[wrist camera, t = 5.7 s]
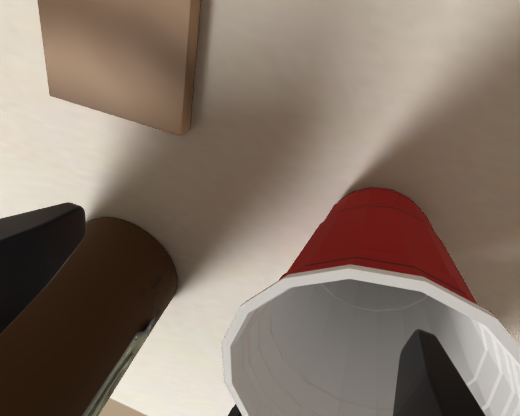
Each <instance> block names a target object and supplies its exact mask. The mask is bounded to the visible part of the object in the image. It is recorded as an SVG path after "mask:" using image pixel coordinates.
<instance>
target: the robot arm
mask: <svg viewBox="0 0 520 416" xmlns="http://www.w3.org/2000/svg"><path fill="white" fill-rule="evenodd" d="M85 235H86V221H85V211H84V209H83V208H82V207H81V206H78V205H76V204H73V203H63V204H59V205H55V206H51V207H47V208H43V209H38V210H34V211H30V212H26V213H22V214H18V215H14V216H10V217H6V218H1V219H0V335H1V334H2V332H3V331H4V330H5V329H6V328H7V327H8V326H9V325H10V324H11V323H12V322H13V321H14V320H15V319H16V318H17V317H18V316H19V315H20V314H21V312H22V311H23V310H24V309H25V308H26V307H27V306H28V305H29V304H30V303H31V302H32V301H33V300H34V299H35V298H36V297H37V296H38V295H39V293H40V292H41V291H42V290H43V289H44V288H45V287H46V286H47V285H48V284H49V283H50V281H51V280H52V279H53V278H54V277H55V275H56V274H57V273H58V271H59V270H60V269H61V268H62V266H63V265H64V264H65V262H66V261H67V260H68V259H69V257H70V256H71V255H72V253H73V252H74V251H75V249H76V248H77V247H78V246H79V244H80V243H81V242H82V240H83V239H84V237H85ZM228 416H242V414H241V412H240V411H239V409H238V407H237V405H236V404H235V406H234V407H233V408H232V409H231V411H230V413H229V415H228ZM393 416H486V415H485V414H484V412H483V410H482V409H481V407H480V406H479V404H478V402H477V401H476V399H475V398H474V396H473V394H472V393H471V391H470V390H469V388H468V386H467V385H466V383H465V381H464V380H463V378H462V377H461V375H460V373H459V372H458V370H457V369H456V367H455V365H454V364H453V362H452V361H451V359H450V357H449V356H448V354H447V353H446V351H445V349H444V348H443V346H442V345H441V343H440V341H439V340H438V338H437V337H436V336H435V335H434V334H432V333H430V332H427V331H424V330H422V329H416V330H415V331H414V332H413V334H412V335H411V337H410V338H409V340H408V341H407V343H406V344H405V346H404V347H403V349H402V351H401V354H400V358H399V367H398V375H397V383H396V392H395V400H394V408H393Z"/></svg>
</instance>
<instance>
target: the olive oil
mask: <svg viewBox="0 0 520 416" xmlns="http://www.w3.org/2000/svg"><path fill="white" fill-rule="evenodd" d="M176 287H177V277H176V272H175V269H174V266H173V264H172V261H171V259H170V258H169V256H168V254H167V253H166V251H165V250H164V249H163V248H162V246H161V245H160V244H159V243H158V242H157V241H156V240H155V239H154V238H153V237H152V236H150V235H149V234H148V233H147V232H145V231H144V230H142V229H141V228H139V227H137V226H135V225H133V224H131V223H129V222H126V221H123V220H120V219H115V218H97V219H93V220H91V221H89V222H87V223H86V235H85V237H84V239H83V240H82V242H81V243H80V244H79V246H78V247H77V248H76V249H75V251H74V252H73V253H72V255H71V256H70V257H69V259H68V260H67V261H66V262H65V264H64V265H63V266H62V268H61V269H60V270H59V271H58V273H57V274H56V275H55V277H54V278H53V279H52V280H51V281H50V283H49V284H48V285H47V286H46V287H45V288H44V289H43V290H42V291H41V292H40V293H39V295H38V296H37V297H36V298H35V299H34V300H33V301H32V302H31V303H30V304H29V305H28V306H27V307H26V308H25V309H24V310H23V311H22V312H21V314H20V315H19V316H18V317H17V318H16V319H15V320H14V321H13V322H12V323H11V324H10V325H9V326H8V327H7V328H6V329H5V330H4V331H3V332H2V334H1V335H0V416H98V415H99V413H100V412H101V410H102V408H103V407H104V405H105V404H106V402H107V401H108V399H109V397H110V396H111V394H112V393H113V391H114V389H115V388H116V386H117V385H118V383H119V381H120V380H121V378H122V377H123V375H124V373H125V372H126V370H127V369H128V367H129V365H130V364H131V362H132V361H133V359H134V357H135V356H136V354H137V353H138V351H139V349H140V348H141V346H142V345H143V343H144V342H145V340H146V339H147V337H148V336H149V334H150V332H151V330H152V329H153V327H154V326H155V324H156V323H157V321H158V320H159V318H160V317H161V315H162V314H163V312H164V310H165V309H166V307H167V306H168V304H169V303H170V301H171V300H172V298H173V296H174V294H175V291H176Z"/></svg>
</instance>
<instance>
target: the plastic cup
mask: <svg viewBox="0 0 520 416" xmlns="http://www.w3.org/2000/svg"><path fill="white" fill-rule="evenodd" d="M416 329H422V330H424V331H427V332H430V333H432V334H434V335H435V336H436V337H437V338H438V340H439V341H440V343H441V345H442V346H443V348H444V349H445V351H446V353H447V354H448V356H449V357H450V359H451V361H452V362H453V364H454V365H455V367H456V369H457V370H458V372H459V373H460V375H461V377H462V378H463V380H464V381H465V383H466V385H467V386H468V388H469V390H470V391H471V393H472V394H473V396H474V398H475V399H476V401H477V402H478V404H479V406H480V407H481V409H482V410H483V412H484V414H485V415H486V416H520V345H519V344H518V343H517V342H516V340H515V339H514V338H513V337H512V336H511V335H510V333H509V332H508V331H507V330H506V329H505V328H504V326H503V325H502V324H501V323H500V322H499V321H498V320H497V318H496V317H495V316H494V315H493V314H492V313H491V312H490V311H488V310H486V309H484V308H482V307H480V306H479V305H478V304H477V303H476V301H475V300H474V298H473V296H472V294H471V293H470V291H469V289H468V287H467V285H466V284H465V282H464V280H463V278H462V276H461V275H460V273H459V271H458V269H457V268H456V266H455V264H454V262H453V260H452V259H451V257H450V255H449V253H448V252H447V250H446V248H445V246H444V244H443V243H442V241H441V240H440V239H439V237H438V236H437V235H436V234H435V232H434V230H433V228H432V226H431V224H430V222H429V220H428V218H427V216H426V215H425V214H424V213H423V212H422V211H421V210H420V209H419V207H418V206H417V205H416V204H415V203H414V202H413V201H412V200H411V199H410V198H408V197H406V196H404V195H402V194H400V193H398V192H396V191H394V190H391V189H381V188H367V189H363V190H359V191H355V192H352V193H351V194H349V195H348V196H346V197H345V198H343V199H342V200H340V201H339V202H338V203H337V204H335V205H334V206H333V208H332V210H331V211H330V213H329V214H328V216H327V218H326V219H325V221H324V222H323V223H321V224H320V225H319V227H318V228H317V230H316V231H315V232H314V234H313V235H312V237H311V238H310V240H309V241H308V243H307V244H306V246H305V247H304V249H303V250H302V251H301V253H300V254H299V256H298V257H297V259H296V260H295V262H294V263H293V265H292V266H291V267H290V269H289V270H288V272H287V273H285V274H284V275H282V277H281V278H280V279H279V281H277V282H276V283H274V284H273V285H271V286H269V287H268V288H266V289H265V290H263V291H262V292H260V293H258V294H257V295H255V296H254V297H252V298H251V299H249V300H247V301H246V302H245V303H244V304H242V305H241V306H240V308H239V310H238V312H237V314H236V316H235V318H234V320H233V322H232V324H231V325H230V327H229V329H228V331H227V333H226V335H225V337H224V339H223V341H222V356H223V372H224V382H225V384H226V386H227V388H228V390H229V392H230V394H231V395H232V397H233V399H234V401H235V403H236V405H237V407H238V409H239V411H240V412H241V414H242V416H393V408H394V400H395V392H396V383H397V375H398V367H399V358H400V354H401V351H402V349H403V347H404V346H405V344H406V343H407V341H408V340H409V338H410V337H411V335H412V334H413V332H414V331H415V330H416Z"/></svg>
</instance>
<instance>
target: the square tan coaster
mask: <svg viewBox="0 0 520 416" xmlns="http://www.w3.org/2000/svg"><path fill="white" fill-rule="evenodd" d="M200 5H201V0H38V7H39V15H40V23H41V30H42V38H43V46H44V54H45V62H46V70H47V77H48V85H49V93H50V96H53V97H56V98H59V99H62V100H66V101H69V102H72V103H75V104H79V105H82V106H85V107H88V108H91V109H95V110H98V111H101V112H104V113H108V114H111V115H114V116H117V117H121V118H124V119H127V120H130V121H134V122H137V123H140V124H143V125H146V126H150V127H153V128H156V129H159V130H163V131H166V132H169V133H172V134H176V135H179V136H182V135H183V134H184V133H186V132H187V131H189V130H190V121H191V109H192V98H193V86H194V75H195V63H196V51H197V40H198V28H199V17H200Z"/></svg>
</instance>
